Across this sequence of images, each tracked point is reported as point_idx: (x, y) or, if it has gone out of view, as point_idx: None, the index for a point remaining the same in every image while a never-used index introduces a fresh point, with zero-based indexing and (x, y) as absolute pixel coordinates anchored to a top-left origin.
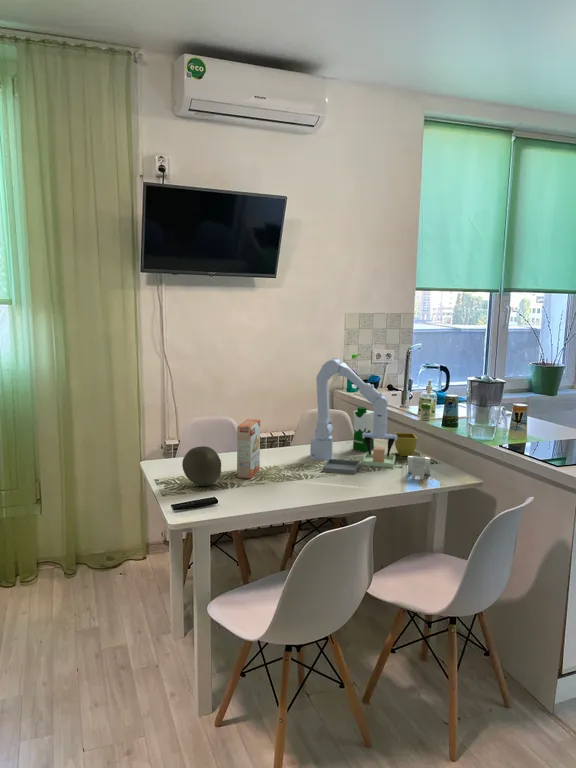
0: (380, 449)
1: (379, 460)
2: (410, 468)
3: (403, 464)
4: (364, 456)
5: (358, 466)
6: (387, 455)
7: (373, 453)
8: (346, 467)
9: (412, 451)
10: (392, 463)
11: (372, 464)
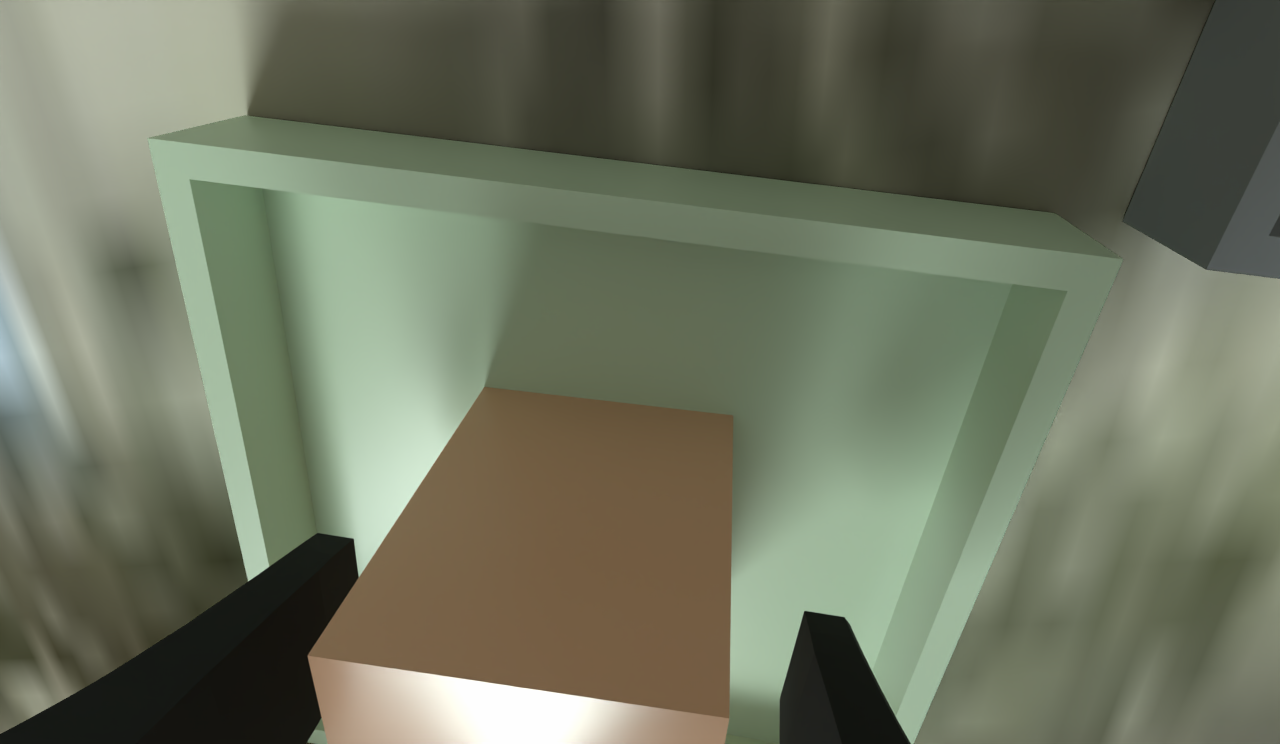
0: (454, 705)
1: (568, 438)
2: None
3: (139, 456)
4: (936, 657)
5: (1227, 38)
6: (325, 554)
7: (725, 588)
8: None
9: None
10: (174, 161)
11: (763, 195)
